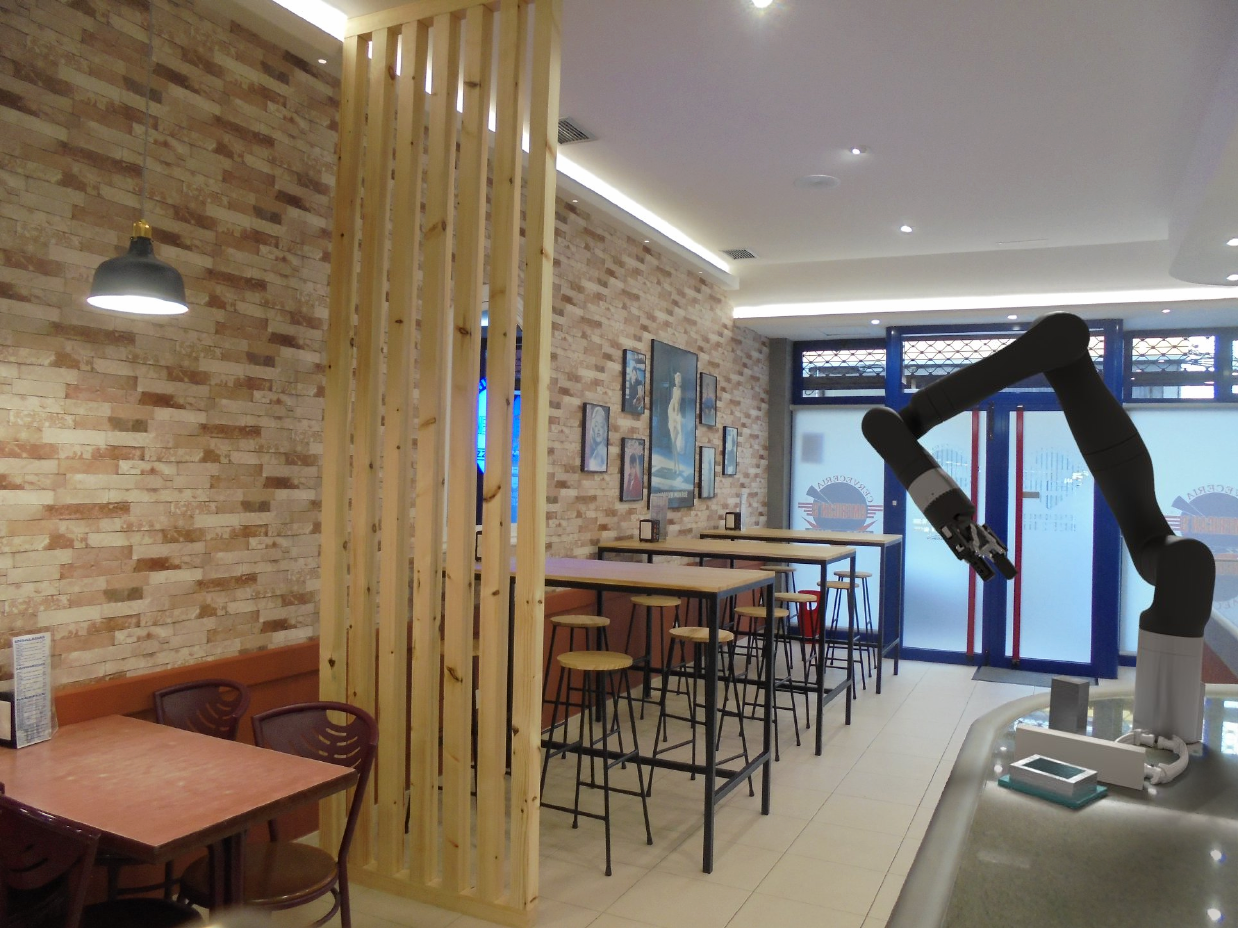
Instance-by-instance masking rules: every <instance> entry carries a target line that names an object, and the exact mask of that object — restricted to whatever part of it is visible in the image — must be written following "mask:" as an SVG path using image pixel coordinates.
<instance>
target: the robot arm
mask: <svg viewBox="0 0 1238 928" xmlns="http://www.w3.org/2000/svg"><path fill="white" fill-rule="evenodd" d="M1090 341H1091V333H1090V328H1089V325H1088V324H1087V323H1086V321H1085V320H1084V319H1083V318H1082V317H1080V316H1079V315H1077V314H1075V313H1072V312H1070V311H1063V310H1059V311H1058V310H1057V311H1049V312H1046V313H1045V314H1044V313H1043V314H1041V315H1040V316H1038V317H1036V318H1035V319H1034V320H1033V321H1032V322H1031V323H1030V324H1029V326H1028V328H1027V330H1026V331H1025V332H1024V333H1022V334H1021V335H1020V336H1018V337H1017V338H1016V339H1014V340H1013V341H1012V342H1010V343H1009V344H1007V345H1006V346H1004V347H1002V348H1001V349H999V350H997V351H994V352H993V353H991V354H990V355H987V356H985V357H984V358H981V359H980V360H977V361H975V362H971V363H970V364H967V365H966V366H963V367H961V368H959V369H957V370H955V371H952V372H951V373H949V374H946V375H945V376H942V377H940V378H939V379H937V380H935V381H933V382H931V383H929V384H928V385H926V386H924V387H923V388H920V389H918V390H917V391H915V392H914V393H913V394H911V396H910V400H909V403H908V404H907V405H905V406H903V408H901V409H900V410H898V411H897V412H896V411H895V410H894V409H892V408H891V407H888V406H876V407H872V408H871V409H868V410H867V412H866V413H864V415H863V416H862V419H861V425H860V426H861V427H860V428H861V432H862V435H863V437H864V439H865V440H866V441H867V443H868V444H869V445H870V446H871V447H872V448H873V449H874V450H875V452H876V453H877V454H878V455H879V456H880V458H881V459H883V461H884V462H885V463H886V464H887V465H888V466H889V468H890V469H891V471H892V472H893V474H894V476H895V477H896V479H897V480H898V481H899V483H900V484H901V485H902V486H903V488H904V489H905V490H906V492H907V493H908V494H909V496H910V498H911V499H912V502H913V504H914V505H915V506H916V507H917V508H918V510H920V512H921V514H922V515H923V516H924V518H925V519H926V520H927V522H928V523H929V524H930V525H931V526H932V527H933V529H934V530H935V531H936V533H937V534H939V536H940V537H941V539H942V540H943V541H944V543H945V544H946V545H947V547H948V548H949V549H950V551H951V552H952V553H953V555H954V556H955V557H956V559H957V560H958V561H960V562H962V561H964V563H966V564H968V565H970V567H971V568H972V569H973V570H974V571H975V573H976V574H977V575H978V576H979V578H980V579H981V581H983V582H989V581H990V580H992V579H994V578H995V577H996V574H997V573H996V571H995V570H994V568H993V567H992V566H991V565H990V564H989V562H988V561H987V560H986V558H987V559H989V560H990V561H991V562H992V563H993V565H994V566H995V567H996V568H997V570H998V571H999V572H1000V574H1001V575H1002V576H1003V577H1004V578H1005V580H1007V581H1011V580H1013V579H1014V578H1016V577H1017V576H1018V575H1019V572H1020V571H1019V570H1018V569H1017V568H1016V566H1015V565H1014V564H1013V562H1012V561H1011V560H1010V559H1009V558H1008V556H1007V555H1006V554H1007V552H1009V549H1008V547H1007V546H1006V545H1005V544H1004V543H1003V541H1002V540H1001V539H1000V538H999V537H998V536H997V534H996V533H995V532H994V531H993V530H992V529H991V527H990V526H989V525H988V524H987V523H983V524H982V525H980V524H979V523H977V522H976V521H974V519H973V518H974V516H975V515H976V513H977V506H976V505H975V504H974V503H973V501H972V500H971V499H970V498H969V497H968V496H967V494H966V493H965V492H964V490H963V489H962V488H961V487H960V486H959V484H958V483H957V482H956V481H955V480H954V478H953V477H952V476H951V475H950V474H949V473H948V472H946V471H945V470H944V468H942V466H941V465H940V463H939V462H938V461H937V460H936V458H934V456H933V455H932V454H931V453H930V452H929V451H928V449H926V448H925V447H924V446H923V445H922V444H921V443H920V442H919V441H918V440H920V439H921V438H922V437H924V436H925V435H926V434H927V433H929V432H930V431H931V430H932V429H933V428H934V427H937V426H939V425H940V424H943V423H944V422H947V421H949V420H951V419H952V418H954V417H956V416H958V415H960V414H962V413H964V412H966V411H968V410H969V409H971V408H972V407H974V406H977V405H978V404H980V403H982V402H983V401H985V400H987V399H989V398H990V397H992V396H994V395H996V394H998V393H999V392H1001V391H1003V390H1005V389H1007V388H1009V387H1012V386H1013V385H1015V384H1017V383H1018V384H1019V383H1020V382H1022V381H1024V380H1026V379H1029V378H1031V377H1034V376H1037V375H1039V374H1043V376H1044V377H1045V379H1046V381H1047V382H1048V383H1049V385H1050V387H1051V388H1052V390H1053V392H1054V394H1055V395H1056V397H1057V399H1058V401H1059V403H1060V405H1061V409H1062V412H1063V414H1064V417H1065V419H1066V423H1067V425H1068V427H1069V429H1070V432H1071V434H1072V437H1073V439H1074V441H1075V443H1076V445H1077V448H1078V449H1079V452H1080V455H1081V456H1082V459H1083V461H1084V462H1085V464H1086V466H1087V468H1088V470H1089V471H1090V474H1091V476H1092V478H1094V481H1095V482H1096V484H1097V487H1098V488H1099V490H1100V492H1101V494H1102V496H1103V498H1104V500H1105V501H1106V504H1107V506H1108V507H1109V509H1110V511H1111V512H1112V514H1113V516H1114V518H1115V520H1116V522H1117V524H1118V527H1119V529H1120V532H1121V535H1122V537H1123V539H1124V542H1125V545H1126V547H1127V550H1128V553H1129V556H1130V559H1131V561H1132V564H1133V566H1134V568H1135V570H1136V572H1137V574H1138V575H1139V577H1140V578H1141V579H1142V580H1143V581H1144V582H1146V583H1147V584H1148V585H1150V586H1152V587H1154V590H1153V591H1154V592H1153V598H1152V602H1151V604H1150V606H1149V607H1147V608H1146V609H1143V610H1142V611H1141V612H1140V615H1139V617H1138V618H1139V620H1138V631H1137V632H1138V633H1137V649H1136V665H1135V676H1134V677H1135V679H1134V680H1135V681H1134V695H1133V708H1132V709H1133V710H1132V724H1131V725H1132V726H1131V731H1132V730H1136V729H1142V730H1149V732H1148V733H1149V734H1152V735H1155V740H1156V741H1158V738H1159V736H1161V737H1164V738H1165V739H1168V737H1170V738H1171V740H1173V739H1172V738H1173V736H1172V735H1175V736H1177V737H1179V738H1181V739H1182V741H1183V742H1184V743H1185V744H1194V743H1197V742H1198V741H1200V742H1201V741H1202V742H1203V732H1204V731H1203V729H1204V714H1205V702H1206V700H1205V699H1206V686H1207V685H1206V683H1205V682H1204V681H1202V667H1203V653H1204V652H1203V651H1204V650H1203V649H1204V638H1205V637H1204V636H1205V629H1206V625H1207V624H1208V622H1209V620H1210V618H1211V615H1212V611H1213V610H1212V609H1213V602H1214V595H1215V587H1216V573H1217V572H1216V571H1217V566H1216V560H1215V557H1214V555H1213V552H1212V550H1211V549H1210V547H1208V546H1207V545H1206V544H1205V543H1204V542H1202V541H1200V540H1199V539H1196V538H1192V537H1186V536H1179V535H1176V533H1175V532H1174V530H1173V529H1172V527H1171V525H1170V524H1169V522H1168V520H1167V519H1166V516H1165V515H1164V513H1163V511H1162V510H1161V507H1160V505H1159V503H1158V499H1157V495H1156V489H1155V472H1154V465H1153V464H1154V463H1153V460H1152V456H1151V455H1150V452H1149V450H1148V448H1147V446H1146V443H1145V441H1144V440H1143V438H1142V436H1141V434H1140V431H1139V430H1138V428H1137V426H1136V425H1135V423H1134V422H1133V420H1132V419H1131V417H1130V416H1129V414H1128V413H1127V410H1126V409H1124V407H1123V405H1122V404H1121V403H1120V401H1118V399H1117V398H1116V397H1115V396H1114V394H1113V393H1112V392H1111V391H1110V389H1109V387H1107V385H1106V384H1105V382H1104V381H1103V379H1102V377H1101V376H1100V374H1099V372H1098V370H1097V368H1096V365H1095V363H1094V361H1093V360H1094V359H1093V358H1092V356H1091V353H1090V351H1089V349H1088V348H1089V345H1090ZM985 557H986V558H985ZM1149 734H1148V735H1149Z"/></svg>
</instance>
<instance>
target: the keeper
mask: <svg viewBox="0 0 1238 928" xmlns="http://www.w3.org/2000/svg"><path fill="white" fill-rule="evenodd" d="M1097 775H1098V772H1097V771H1093V770H1090V769H1086V768H1083V767H1079V766H1076V765H1072V764H1069V763H1065V762H1061V761H1058V760H1054V759H1051V758H1047V757H1044V756H1040V755H1037V754H1036V755H1033V756H1030V757H1028V758H1025V759H1023V760H1020V761H1018V762H1013V763H1010V764H1009V774H1006V775H1004V776H1001V777H998V778H997V785H998V786H1001V787H1003V788H1008V789H1009V790H1014V791H1016V792H1020V793H1023V794H1026V795H1029V796H1032V797H1036V798H1038V799H1042V800H1045V801H1049V802H1051V803H1054V804H1058V805H1061V806H1064V807H1067V808H1070V809H1073V810H1076V811H1077V810H1079V809H1081V808H1083V807H1085V806H1087V805H1088V804H1091V803H1093V802H1094V801H1096V800H1099V799H1100V798H1102V797H1104V796H1106V795H1108V789H1109V787H1106V786H1102V785H1099V784H1098V780H1097Z"/></svg>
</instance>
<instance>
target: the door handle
mask: <svg viewBox="0 0 1238 928" xmlns="http://www.w3.org/2000/svg"><path fill="white" fill-rule="evenodd" d="M1148 732H1149V730H1142V729H1136V730H1132V729H1131V731H1129V732H1128V733H1125V734H1124V735H1121V736H1120V737H1118V738H1116V739H1115V740H1114V741H1113V742H1118V743H1123V744H1128V745H1133V744H1134V745H1135V744H1138V745H1137V746H1139V745H1140V746H1141V745H1146V746H1147V747H1149V746H1150V748H1154V746H1155V744H1157V749H1158V750H1159V749H1160V750H1169V751H1173V752H1172V753H1173V754H1176V753H1177V754H1176V755H1179V759H1178V760H1176V761H1174V762H1173V763H1170V764H1167V763H1162V762H1159V763H1158V765H1157V766H1155V764H1153V763H1150V765H1148V763H1145V767H1144V779H1146V778H1150V781H1149V784H1150V785H1152V786H1153V785H1158V784H1167V783H1170V782H1172V781H1173V779H1174V778H1176V777H1178V776H1179V775H1181V774H1182V773H1183V772H1184V771H1185V769H1186V768H1187V767H1188V764H1189V753H1188V746H1187V743H1184V742H1183V741H1182V739H1181V738H1179V737H1177V736H1175V735H1172V736H1173V738H1172V739H1173V740H1171V738H1170V737H1168V739H1165V738H1164V737H1161V736H1159V738H1158V740H1156V739H1155V735H1152V734H1149V733H1148ZM1148 734H1149V735H1148ZM1134 745H1133V746H1134ZM1163 748H1164V749H1163Z"/></svg>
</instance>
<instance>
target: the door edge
mask: <svg viewBox="0 0 1238 928" xmlns="http://www.w3.org/2000/svg"><path fill="white" fill-rule="evenodd" d="M1146 750H1147V749H1146V747H1143V746H1139V745H1128V744H1123V743H1118V742H1114V741H1112V740H1107V739H1103V738H1102V739H1101V738H1096V737H1091V736H1087V735H1086V736H1083V735H1078V734H1073V733H1068V732H1063V731H1058V730H1052V729H1048V727H1041V726H1037V725H1031V724H1027V723H1023V722H1019V723H1018V724H1017V725H1016V727H1015V736H1014V750H1013V751H1014V753H1013V763H1015V762H1018V761H1020V760H1023V759H1025V758H1028V757H1030V756H1033V755H1036V754H1037V755H1040V756H1044V757H1047V758H1051V759H1054V760H1058V761H1061V762H1065V763H1069V764H1072V765H1076V766H1079V767H1083V768H1086V769H1090V770H1093V771H1097V772H1098V775H1097V782H1103V783H1109V784H1112V785H1117V786H1120V787H1121V786H1123V787H1125V788H1130V789H1135V790H1140V791H1143V787H1144V779H1145V777H1144V767H1145V764H1146Z"/></svg>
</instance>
